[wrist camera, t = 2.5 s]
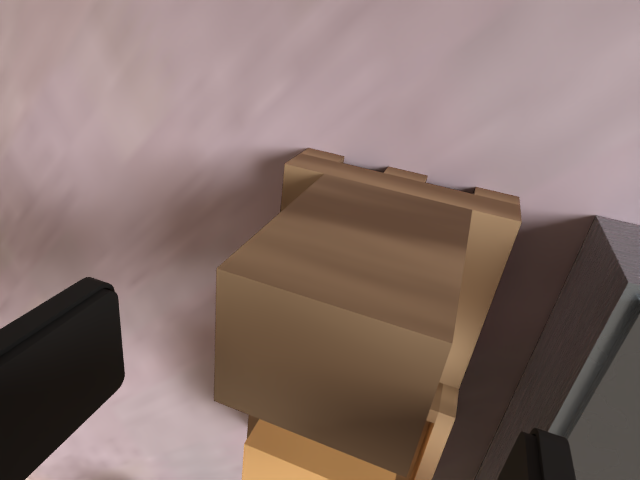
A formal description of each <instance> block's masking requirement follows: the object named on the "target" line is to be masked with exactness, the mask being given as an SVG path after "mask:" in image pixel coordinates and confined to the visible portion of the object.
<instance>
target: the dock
mask: <svg viewBox="0 0 640 480" xmlns="http://www.w3.org/2000/svg"><path fill="white" fill-rule="evenodd" d="M533 428H538V429H541V430H544V431H547V432H550V433H553V434H556V435H558V436H561V437H564V438H566V439H567V440H568V442H569V445H570V450H571V456H572V461H573V466H574V471H575V476H576V480H640V226H639V225H635V224H630V223H626V222H622V221H618V220H613V219H609V218H605V217H600V216H596V217H595V219H594V221H593V223H592V225H591V228H590V230H589V232H588V234H587V236H586V239H585V241H584V243H583V245H582V247H581V249H580V252H579V254H578V256H577V258H576V260H575V262H574V265H573V267H572V269H571V271H570V273H569V276H568V278H567V280H566V282H565V284H564V286H563V289H562V291H561V293H560V295H559V297H558V299H557V302H556V304H555V306H554V308H553V310H552V313H551V315H550V317H549V319H548V321H547V323H546V326H545V328H544V330H543V332H542V334H541V336H540V339H539V341H538V343H537V345H536V347H535V350H534V352H533V354H532V356H531V358H530V360H529V363H528V365H527V367H526V369H525V371H524V373H523V376H522V378H521V380H520V382H519V384H518V387H517V389H516V391H515V393H514V395H513V397H512V400H511V402H510V404H509V406H508V408H507V410H506V413H505V415H504V417H503V419H502V421H501V423H500V426H499V428H498V430H497V432H496V434H495V437H494V439H493V441H492V443H491V445H490V447H489V450H488V452H487V454H486V456H485V458H484V460H483V463H482V465H481V467H480V469H479V471H478V474H477V476H476V478H475V480H497V479H498V477H499V475H500V473H501V471H502V469H503V466H504V464H505V462H506V460H507V458H508V456H509V454H510V452H511V450H512V448H513V446H514V444H515V442H516V440H517V437H518V435H519V434H520V432H526V433H529V434H530V432H531V430H532V429H533Z"/></svg>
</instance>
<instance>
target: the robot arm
mask: <svg viewBox="0 0 640 480" xmlns="http://www.w3.org/2000/svg"><path fill="white" fill-rule="evenodd" d="M124 377H125V372H124V360H123V349H122V337H121V326H120V314H119V303H118V295H117V294H116V292H115V291H114V287H113V286H112V285H111V284H109V283H106V282H103V281H100V280H97V279H94V278H91V277H86V278H84V279H82V280H80V281H78V282H77V283H75V284H73V285H72V286H70V287H69V288H67V289H65V290H64V291H62V292H60V293H59V294H57V295H55V296H54V297H52V298H51V299H49V300H47V301H46V302H44V303H42V304H41V305H39V306H37V307H36V308H34V309H33V310H31V311H29V312H28V313H26V314H24V315H23V316H21V317H20V318H18V319H16V320H15V321H13V322H11V323H10V324H8V325H6V326H5V327H3V328H2V329H0V480H25V479H26V478H27V477H28V476H29V475H30V474H31V473H32V472H33V471H34V470H35V469H36V468H37V467H38V466H39V465H40V464H42V463H43V462H44V461H45V460H46V459H47V458H48V457H49V456H50V455H51V454H52V453H53V452H54V451H55V450H56V449H57V448H58V447H59V446H60V445H61V444H62V443H63V442H64V441H65V440H66V439H67V438H68V437H69V436H70V435H71V434H73V433H74V432H75V431H76V430H77V429H78V428H79V427H80V426H81V425H82V424H83V423H84V422H85V421H86V420H87V419H88V418H89V417H90V416H91V415H92V414H93V413H94V412H95V411H96V410H97V409H98V408H99V407H100V406H101V405H102V404H103V403H105V402H106V401H107V400H108V399H109V398H110V397H111V396H112V395H113V394H114V393H115V392H116V391H117V390H118V389H119V388H120V386H121V385H122V383H123V380H124ZM497 480H576V476H575V471H574V466H573V461H572V456H571V450H570V445H569V442H568V440H567V439H566V438H564V437H561V436H558V435H556V434H553V433H550V432H547V431H544V430H541V429H538V428H533V429H532V430H531V432H530V434H529V433H526V432H520V434H519V435H518V437H517V440H516V442H515V444H514V446H513V448H512V450H511V452H510V454H509V456H508V458H507V460H506V462H505V464H504V466H503V469H502V471H501V473H500V475H499V477H498V479H497Z"/></svg>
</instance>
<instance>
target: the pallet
mask: <svg viewBox="0 0 640 480" xmlns="http://www.w3.org/2000/svg"><path fill="white" fill-rule="evenodd" d="M343 162H344V156H341V155H337V154H332V153H328V152H324V151H319V150H315V149H311V148H308V149H306V150H305V151H303V152H302V153H300V154H299V155H297V156H296V157H294V158H293V159H291V160H290V161H288V162H287V163H285V166H284V177H283V187H282V198H281V209H280V213H279V214H278V215H277V216H276V217H275V218H273V219H272V220H271V221H270V222H269V223H268V224H267V225H265V226H264V227H263V228H262V229H261V230H260V231H259V232H257V233H256V234H255V235H254V236H253V237H252V238H251V239H249V240H248V241H247V242H246V243H245V244H244V245H243V246H241V247H240V248H239V249H238V250H237V251H236V252H235V253H234V254H232V255H231V256H230V257H229V258H228V259H227V260H226V261H224V262H223V263H222V264H221V265H220V266H219V267H218V268H217V270H216V322H215V373H214V401H216V402H218V403H221V404H223V405H226V406H228V407H231V408H233V409H236V410H238V411H241V412H243V413H246V414H248V415H249V418H248V431H247V439H248V437H249V435H250V434H251V432H252V430H253V429H254V427H255V425H256V424H257V422H258V420H259V419H261V420H263V421H266V422H268V423H271V424H273V425H276V426H278V427H281V428H283V429H286V430H288V431H291V432H293V433H296V434H298V435H301V436H303V437H306V438H308V439H311V440H313V441H316V442H318V443H321V444H323V445H326V446H328V447H331V448H333V449H336V450H338V451H341V452H343V453H346V454H348V455H351V456H353V457H356V458H358V459H361V460H363V461H366V462H368V463H371V464H373V465H376V466H378V467H381V468H383V469H386V470H388V471H391V472H393V473H396V478H395V480H432V478H433V475H434V473H435V470H436V467H437V465H438V462H439V460H440V457H441V455H442V452H443V449H444V447H445V444H446V442H447V439H448V436H449V434H450V431H451V429H452V426H453V424H454V421H455V418H456V410H457V401H458V392H459V387H460V385H461V382H462V379H463V377H464V374H465V371H466V369H467V366H468V364H469V361H470V358H471V356H472V353H473V350H474V348H475V345H476V342H477V340H478V337H479V334H480V332H481V329H482V326H483V324H484V321H485V318H486V316H487V313H488V310H489V308H490V305H491V302H492V300H493V297H494V294H495V292H496V289H497V286H498V284H499V281H500V278H501V276H502V273H503V270H504V268H505V265H506V262H507V260H508V257H509V254H510V252H511V249H512V246H513V244H514V241H515V238H516V236H517V233H518V230H519V228H520V225H521V223H522V220H521V210H520V201H519V197H517V196H513V195H508V194H504V193H500V192H496V191H491V190H487V189H483V188H478V187H476V188H475V191H474V194H471V193H467V192H462V191H458V190H454V189H450V188H446V187H441V186H437V185H433V184H429V183H426V180H427V175H423V174H418V173H414V172H410V171H405V170H401V169H397V168H392V167H388V168H387V169H386V170H385V171H384V173H382V172H378V171H374V170H370V169H365V168H361V167H357V166H353V165H348V164H344V163H343Z"/></svg>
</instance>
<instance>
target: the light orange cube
mask: <svg viewBox="0 0 640 480" xmlns="http://www.w3.org/2000/svg"><path fill="white" fill-rule="evenodd" d="M395 478H396V473H393V472H391V471H388V470H386V469H383V468H381V467H378V466H376V465H373V464H371V463H368V462H366V461H363V460H361V459H358V458H356V457H353V456H351V455H348V454H346V453H343V452H341V451H338V450H336V449H333V448H331V447H328V446H326V445H323V444H321V443H318V442H316V441H313V440H311V439H308V438H306V437H303V436H301V435H298V434H296V433H293V432H291V431H288V430H286V429H283V428H281V427H278V426H276V425H273V424H271V423H268V422H266V421H263V420H261V419H259V420H258V422H257V424H256V425H255V427H254V429H253V430H252V432H251V434H250V435H249V437H248V439H247V440H246V442H245V444H244V456H243V470H242V480H395Z"/></svg>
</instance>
